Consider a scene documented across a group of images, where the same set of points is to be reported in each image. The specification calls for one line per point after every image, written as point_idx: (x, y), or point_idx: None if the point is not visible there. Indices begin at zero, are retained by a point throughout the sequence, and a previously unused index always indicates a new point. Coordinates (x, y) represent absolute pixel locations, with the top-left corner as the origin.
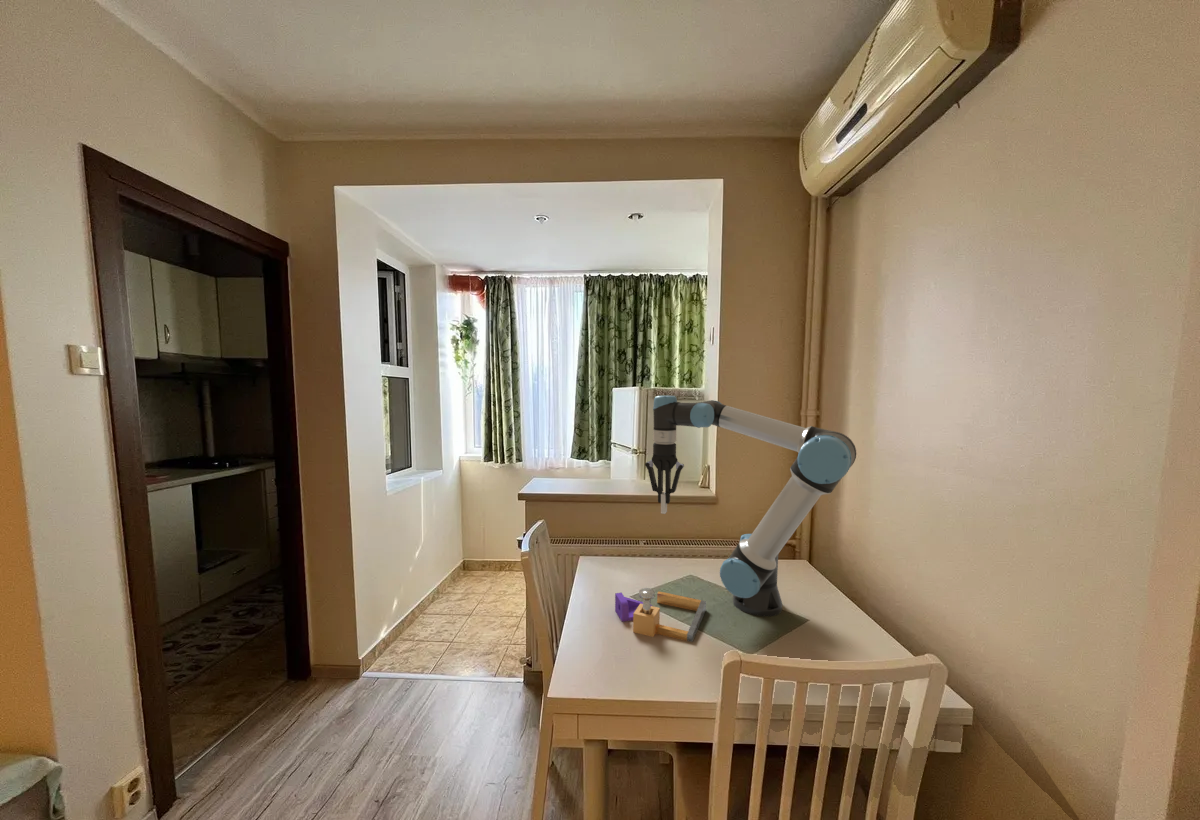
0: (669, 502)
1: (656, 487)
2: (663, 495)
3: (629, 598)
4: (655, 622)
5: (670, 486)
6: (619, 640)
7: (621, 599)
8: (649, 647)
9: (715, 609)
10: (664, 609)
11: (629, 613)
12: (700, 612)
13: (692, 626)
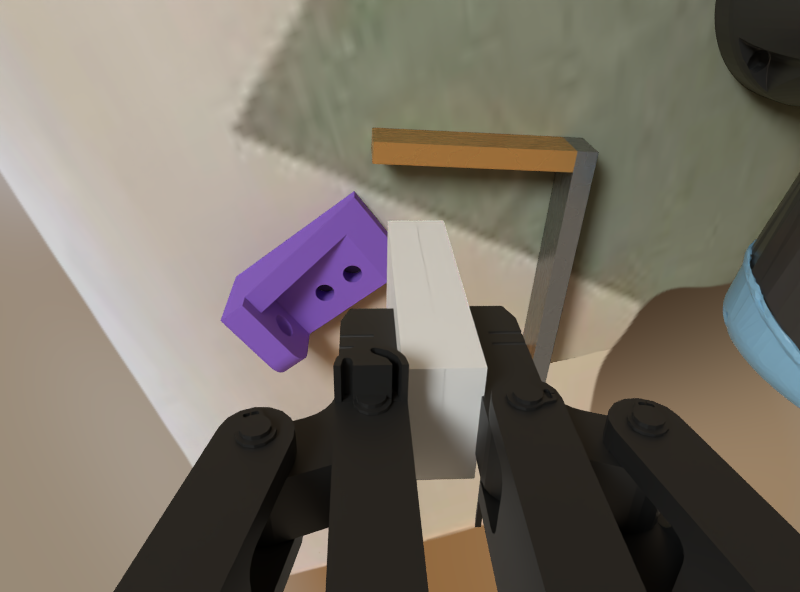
0: (503, 316)
1: (292, 515)
2: (440, 464)
3: (275, 272)
4: None
5: (591, 478)
6: (317, 399)
7: (267, 352)
8: None
9: (625, 100)
10: (412, 181)
11: (302, 309)
12: (572, 248)
13: (544, 339)
